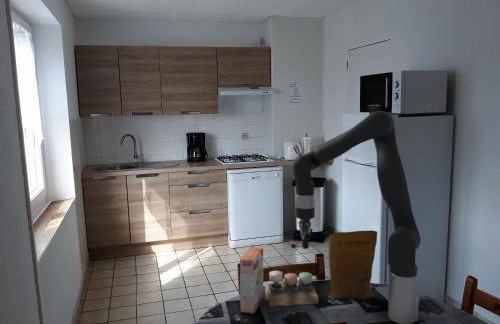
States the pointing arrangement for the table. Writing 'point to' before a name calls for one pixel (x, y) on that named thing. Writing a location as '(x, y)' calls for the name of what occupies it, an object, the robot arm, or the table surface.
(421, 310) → the table surface
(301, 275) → the pale green ball
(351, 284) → the pancake mix bag
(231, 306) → the table surface
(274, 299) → the tan slotted panel
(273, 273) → the white round piece
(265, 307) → the table surface
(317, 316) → the table surface
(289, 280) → the peach ball
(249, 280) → the cracker box
